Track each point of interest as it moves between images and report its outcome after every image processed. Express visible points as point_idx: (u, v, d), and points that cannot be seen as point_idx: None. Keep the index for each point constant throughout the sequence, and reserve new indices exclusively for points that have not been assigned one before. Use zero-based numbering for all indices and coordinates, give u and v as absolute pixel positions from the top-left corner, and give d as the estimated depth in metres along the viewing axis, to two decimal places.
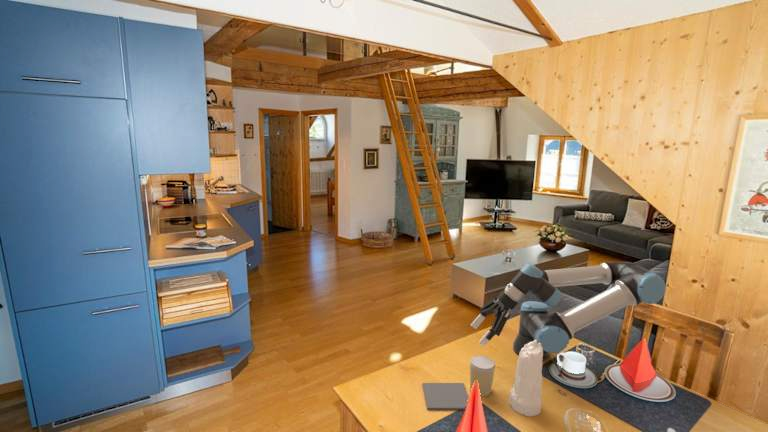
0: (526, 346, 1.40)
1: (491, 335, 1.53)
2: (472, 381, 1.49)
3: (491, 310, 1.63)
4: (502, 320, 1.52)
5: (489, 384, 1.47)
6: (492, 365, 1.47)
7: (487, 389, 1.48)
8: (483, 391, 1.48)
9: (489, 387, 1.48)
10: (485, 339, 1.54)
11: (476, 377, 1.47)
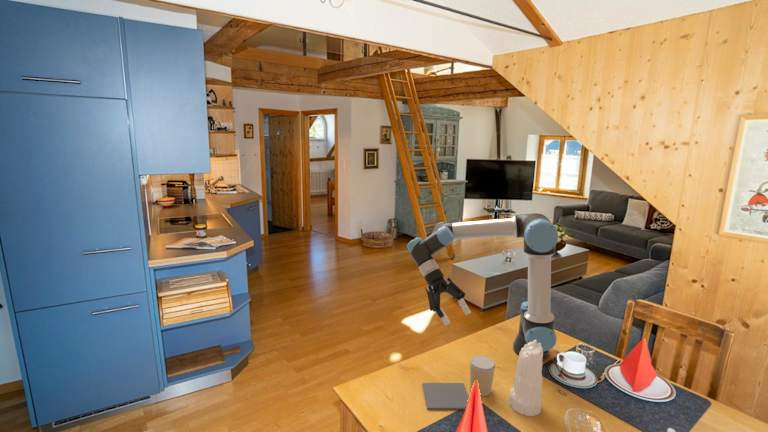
0: (526, 346, 1.40)
1: (437, 312, 1.52)
2: (472, 381, 1.49)
3: (448, 292, 1.63)
4: (428, 295, 1.56)
5: (489, 384, 1.47)
6: (492, 365, 1.47)
7: (487, 389, 1.48)
8: (483, 391, 1.48)
9: (489, 387, 1.48)
10: (443, 318, 1.52)
11: (476, 377, 1.47)
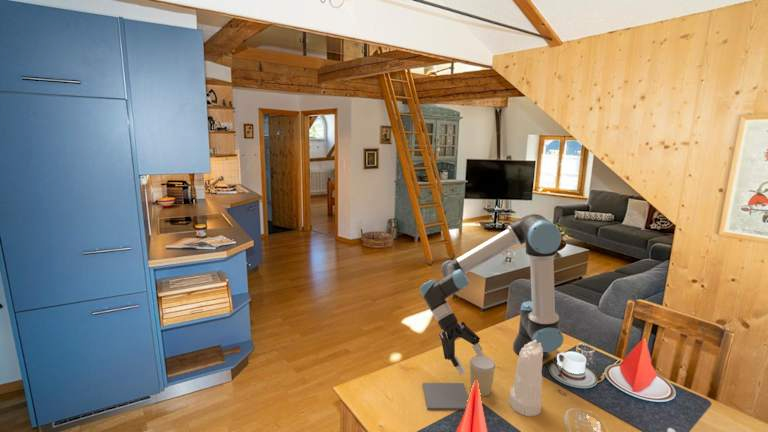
0: (526, 346, 1.40)
1: (452, 361, 1.48)
2: (472, 381, 1.49)
3: (463, 337, 1.58)
4: (443, 343, 1.51)
5: (489, 384, 1.47)
6: (492, 365, 1.47)
7: (487, 389, 1.48)
8: (483, 391, 1.48)
9: (489, 387, 1.48)
10: (458, 367, 1.48)
11: (476, 377, 1.47)
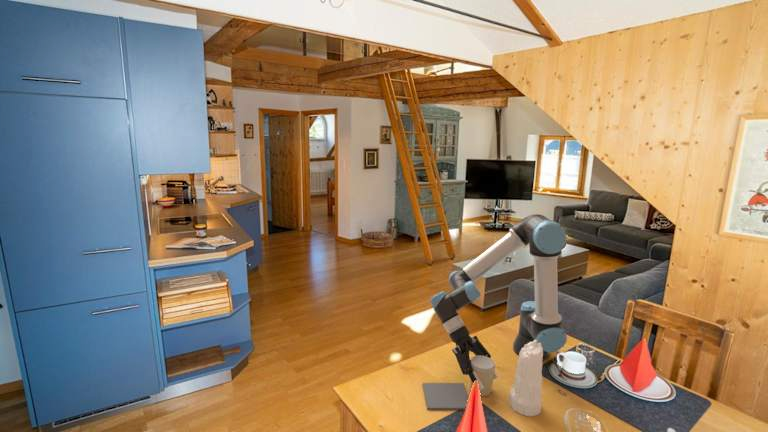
0: (526, 346, 1.40)
1: (470, 376, 1.46)
2: None
3: (474, 351, 1.55)
4: (458, 358, 1.49)
5: (489, 384, 1.47)
6: (492, 365, 1.47)
7: (487, 389, 1.48)
8: (483, 391, 1.48)
9: (489, 387, 1.48)
10: None
11: None
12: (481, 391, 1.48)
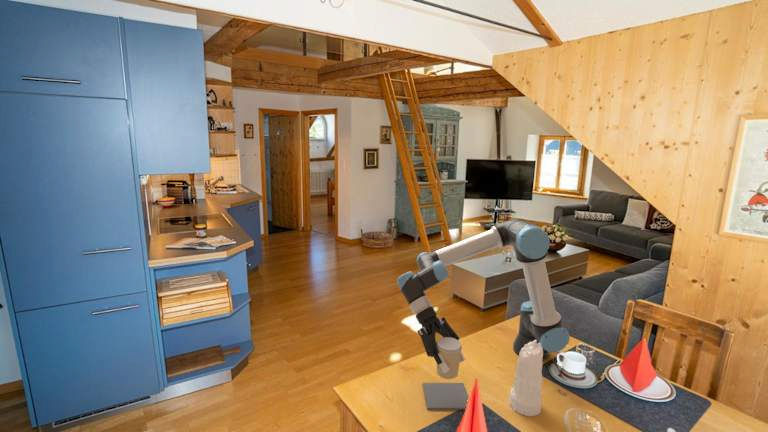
0: (526, 346, 1.40)
1: (435, 358, 1.40)
2: None
3: (441, 333, 1.48)
4: (423, 339, 1.42)
5: (455, 366, 1.41)
6: (458, 346, 1.41)
7: (453, 372, 1.41)
8: (449, 374, 1.41)
9: (455, 370, 1.41)
10: (442, 365, 1.40)
11: None
12: (447, 374, 1.41)
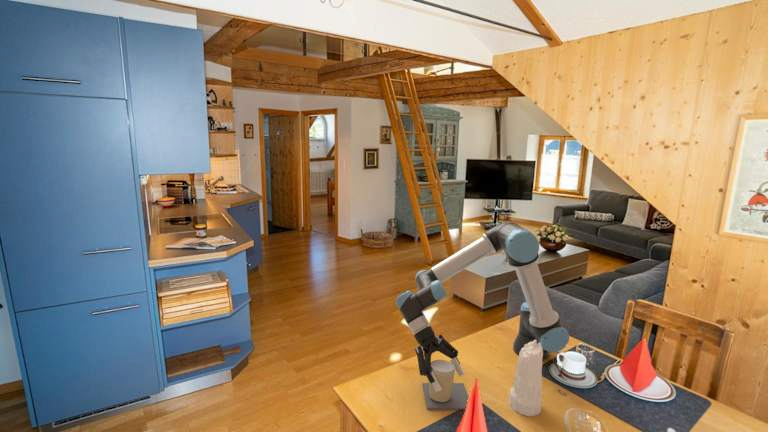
0: (526, 346, 1.40)
1: (428, 377, 1.41)
2: (431, 386, 1.44)
3: (440, 351, 1.51)
4: (418, 358, 1.44)
5: (448, 389, 1.42)
6: (451, 369, 1.42)
7: (446, 394, 1.42)
8: (441, 397, 1.42)
9: (448, 392, 1.42)
10: (434, 384, 1.41)
11: None
12: (439, 396, 1.42)
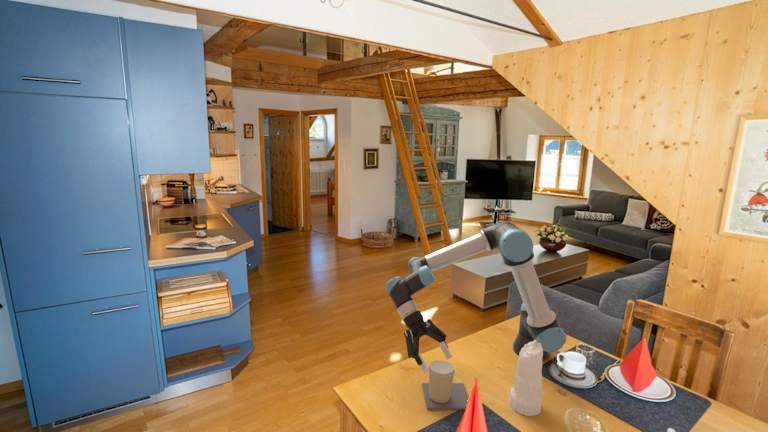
0: (526, 346, 1.40)
1: (416, 359, 1.44)
2: (430, 387, 1.44)
3: (429, 334, 1.54)
4: (407, 341, 1.47)
5: (447, 390, 1.42)
6: (451, 370, 1.42)
7: (445, 396, 1.42)
8: (441, 398, 1.42)
9: (447, 393, 1.42)
10: (422, 366, 1.44)
11: (434, 382, 1.42)
12: (439, 397, 1.42)
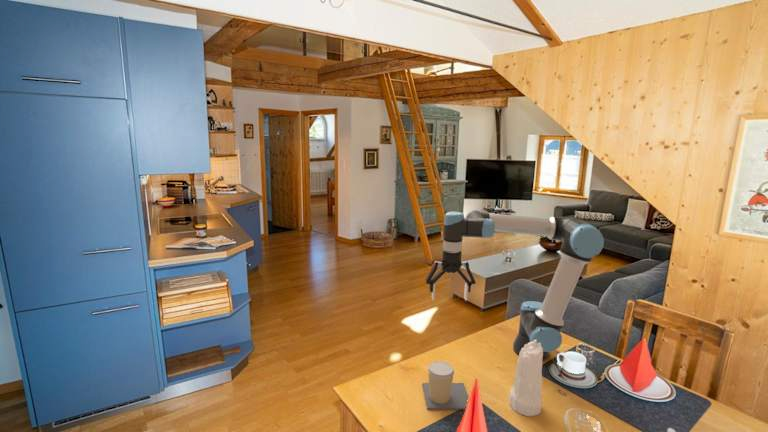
0: (526, 346, 1.40)
1: (430, 286, 1.62)
2: (430, 388, 1.43)
3: None
4: (432, 269, 1.61)
5: (447, 391, 1.42)
6: (450, 371, 1.41)
7: (445, 396, 1.42)
8: (440, 399, 1.42)
9: (447, 394, 1.42)
10: (432, 293, 1.63)
11: (433, 384, 1.41)
12: (439, 398, 1.42)
